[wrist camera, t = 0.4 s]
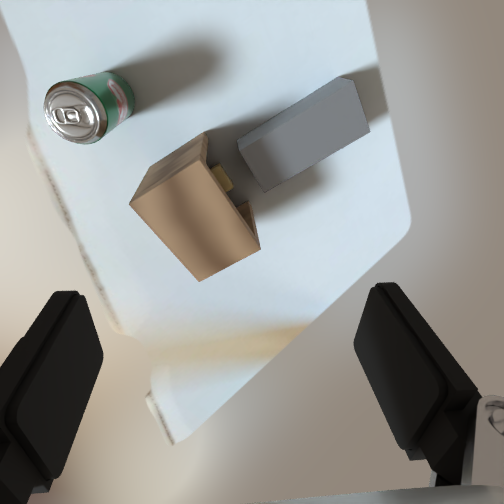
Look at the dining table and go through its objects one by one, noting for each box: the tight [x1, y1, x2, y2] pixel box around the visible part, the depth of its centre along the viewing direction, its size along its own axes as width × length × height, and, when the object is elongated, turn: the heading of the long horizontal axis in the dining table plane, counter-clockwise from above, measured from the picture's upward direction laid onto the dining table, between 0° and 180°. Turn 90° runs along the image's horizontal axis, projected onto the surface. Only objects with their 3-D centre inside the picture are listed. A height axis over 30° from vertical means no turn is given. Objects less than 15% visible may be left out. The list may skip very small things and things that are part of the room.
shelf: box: [129, 132, 261, 282], centre depth 38 cm, size 8×12×12 cm
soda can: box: [44, 72, 135, 144], centre depth 31 cm, size 5×5×12 cm
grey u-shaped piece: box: [237, 77, 370, 193], centre depth 38 cm, size 14×6×5 cm, turn 120°
